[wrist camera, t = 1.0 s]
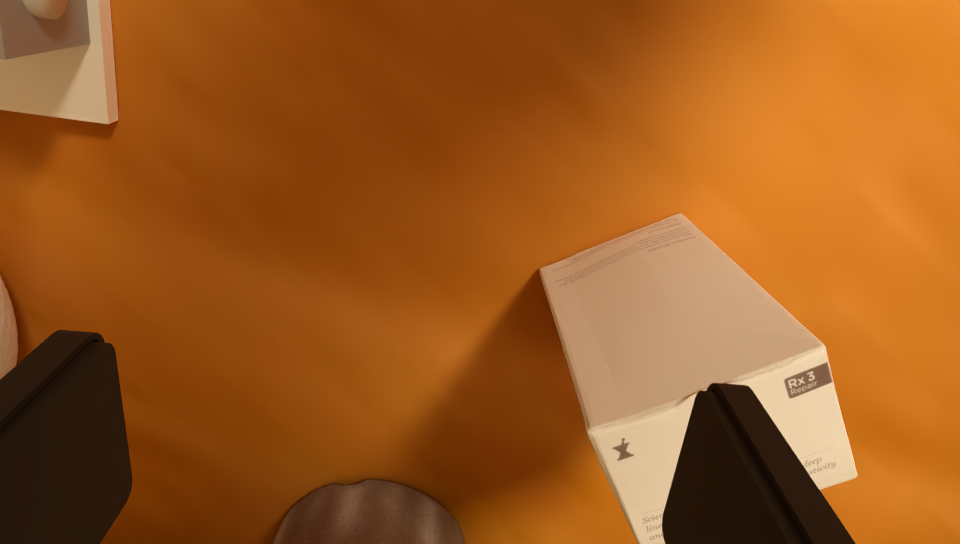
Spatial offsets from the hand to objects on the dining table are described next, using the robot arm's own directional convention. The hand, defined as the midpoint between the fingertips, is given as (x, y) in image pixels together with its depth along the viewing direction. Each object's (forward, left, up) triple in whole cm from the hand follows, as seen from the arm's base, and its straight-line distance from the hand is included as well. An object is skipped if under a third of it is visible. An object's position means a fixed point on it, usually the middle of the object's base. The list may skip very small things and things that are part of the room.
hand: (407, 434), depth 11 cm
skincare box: (+7, +10, -24) cm, 27 cm away
